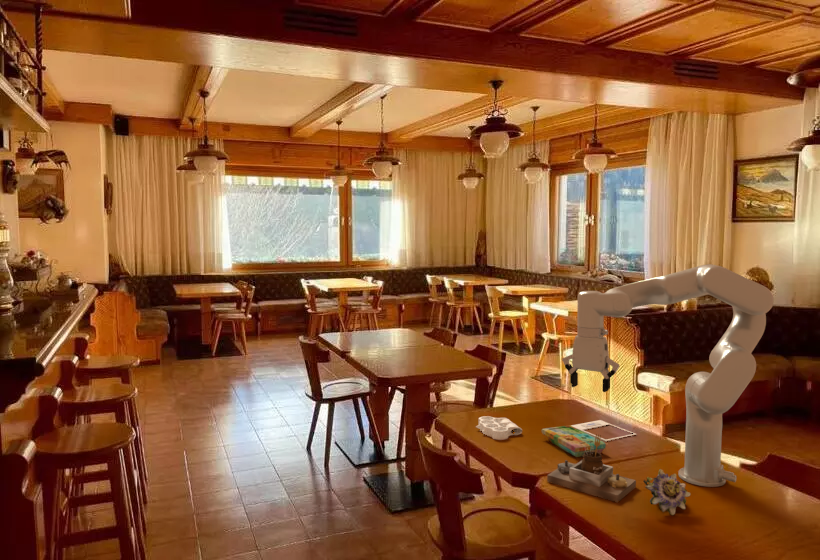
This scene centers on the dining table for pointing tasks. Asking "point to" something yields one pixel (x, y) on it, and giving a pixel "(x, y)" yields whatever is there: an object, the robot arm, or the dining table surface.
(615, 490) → the gear board
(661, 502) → the passion flower
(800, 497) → the dining table surface
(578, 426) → the photo frame
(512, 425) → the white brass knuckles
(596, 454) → the utensil holder
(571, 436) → the puzzle game
